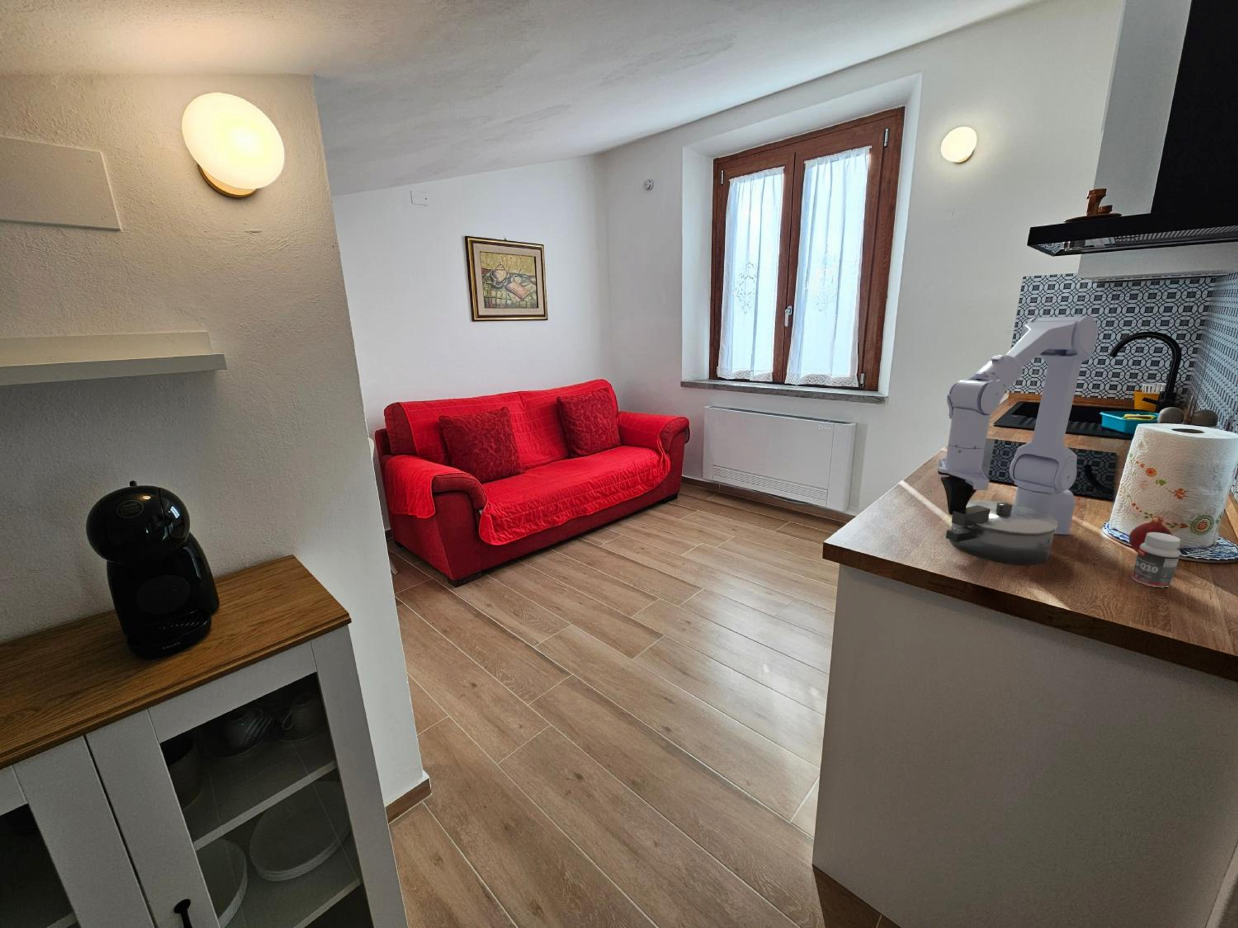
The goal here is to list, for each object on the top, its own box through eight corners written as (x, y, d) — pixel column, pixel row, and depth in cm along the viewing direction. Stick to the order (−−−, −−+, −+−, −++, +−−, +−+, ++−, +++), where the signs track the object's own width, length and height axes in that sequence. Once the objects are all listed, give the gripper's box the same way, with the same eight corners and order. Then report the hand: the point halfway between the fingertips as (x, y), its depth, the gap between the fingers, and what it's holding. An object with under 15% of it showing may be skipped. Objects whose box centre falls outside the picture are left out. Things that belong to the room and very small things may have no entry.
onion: (1177, 566, 94) (1189, 525, 91) (1139, 564, 95) (1150, 523, 93) (1152, 553, 99) (1163, 513, 97) (1117, 551, 100) (1126, 512, 98)
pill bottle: (1123, 576, 91) (1134, 531, 88) (1148, 574, 91) (1160, 530, 89) (1152, 589, 86) (1165, 543, 84) (1178, 588, 86) (1192, 541, 84)
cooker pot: (986, 526, 113) (991, 500, 111) (1069, 556, 98) (1075, 526, 97) (912, 541, 106) (916, 514, 105) (989, 575, 92) (995, 544, 90)
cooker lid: (987, 499, 112) (989, 484, 111) (1077, 525, 97) (1081, 508, 96) (916, 514, 104) (918, 499, 103) (1003, 545, 89) (1006, 528, 89)
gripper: (926, 436, 104) (917, 501, 107) (962, 454, 90) (950, 528, 93) (964, 437, 103) (954, 502, 106) (1006, 455, 89) (993, 529, 92)
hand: (955, 514), depth 100 cm, fingers closed
